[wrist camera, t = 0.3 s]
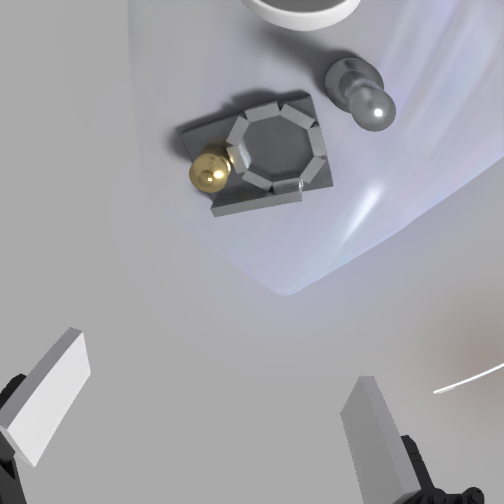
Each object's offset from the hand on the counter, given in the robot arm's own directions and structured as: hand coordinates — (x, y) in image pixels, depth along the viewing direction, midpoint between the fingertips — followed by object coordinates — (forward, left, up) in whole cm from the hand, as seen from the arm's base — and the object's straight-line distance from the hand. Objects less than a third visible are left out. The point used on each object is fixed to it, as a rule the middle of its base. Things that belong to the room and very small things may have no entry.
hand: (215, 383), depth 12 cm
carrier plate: (+4, -4, -32) cm, 33 cm away
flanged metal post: (-3, +10, -32) cm, 34 cm away
